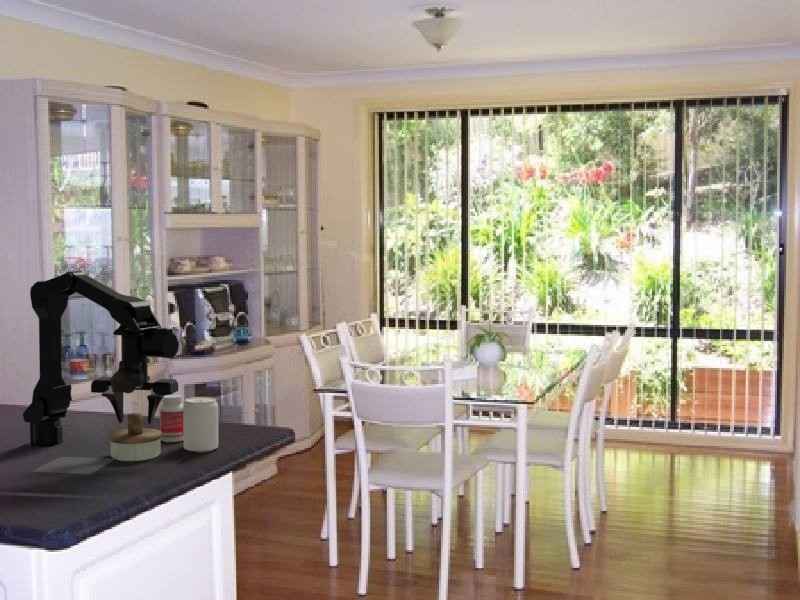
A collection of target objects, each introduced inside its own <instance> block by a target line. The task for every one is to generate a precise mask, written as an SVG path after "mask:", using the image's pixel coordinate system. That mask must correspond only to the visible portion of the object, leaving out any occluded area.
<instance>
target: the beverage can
mask: <svg viewBox="0 0 800 600" xmlns="http://www.w3.org/2000/svg"><path fill="white" fill-rule="evenodd" d="M218 447H219V404H218V402H217V399H216V398H215V397H211V396H195V397H188V398H186V399H185V400H184V403H183V449H184V450H187V451H191V453H208V452H212V451H215V450H216V449H217V448H218Z"/></svg>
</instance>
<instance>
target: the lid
mask: <svg viewBox="0 0 800 600" xmlns="http://www.w3.org/2000/svg"><path fill="white" fill-rule="evenodd" d="M143 425H144V424H143V413H141V412H130V413H127V428H123V429H119V430H118V429H117V430H115V431H112V432H110V433H109V434H108V440H109V442H110V443H111V442H114V443H121V444H138V443H147V442H152V441H156V440H159V439H160V438H161V437H162V432H161V431H160V429H156V428H147V427H143Z"/></svg>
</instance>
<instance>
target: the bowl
mask: <svg viewBox="0 0 800 600" xmlns="http://www.w3.org/2000/svg"><path fill="white" fill-rule="evenodd" d="M159 455H161V440H160V439H159V440H156V441H152V442H147V443H138V444H121V443H114V442H111V441H110V457H111V458H112V459H116V460H117V461H123V462H137V461H138V462H139V461H146V460H152V459H154V458H157V457H158V456H159Z"/></svg>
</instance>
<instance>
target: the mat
mask: <svg viewBox="0 0 800 600" xmlns="http://www.w3.org/2000/svg"><path fill="white" fill-rule="evenodd" d="M115 460H116V459H114V458H107V457H106V458H103V457H82V456H80V457H79V456H60V457H58V458H56V459H54V460H52V461H50V462H48V463H46V464H44V465H41V466H40V467H38V468H36V469H35V470H33V471H31V472H32V473H49V474H53V473H54V474H70V475H72V474H73V475H92V474H94V473H95V472H97V471H98V470H101V469H102V468H104V467H106V466H107V465H109V464H110V463H112V462H113V461H114V462H115Z"/></svg>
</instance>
